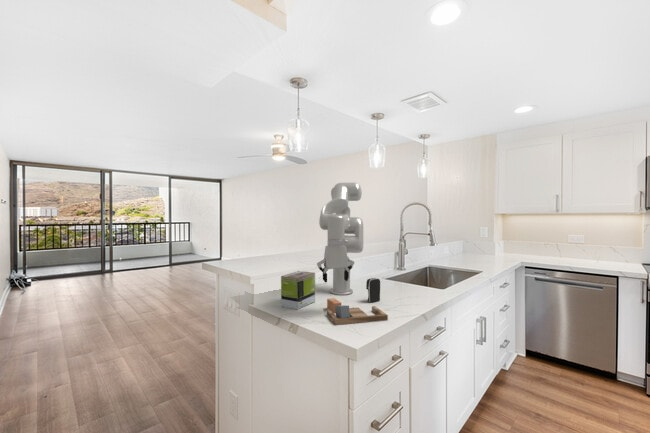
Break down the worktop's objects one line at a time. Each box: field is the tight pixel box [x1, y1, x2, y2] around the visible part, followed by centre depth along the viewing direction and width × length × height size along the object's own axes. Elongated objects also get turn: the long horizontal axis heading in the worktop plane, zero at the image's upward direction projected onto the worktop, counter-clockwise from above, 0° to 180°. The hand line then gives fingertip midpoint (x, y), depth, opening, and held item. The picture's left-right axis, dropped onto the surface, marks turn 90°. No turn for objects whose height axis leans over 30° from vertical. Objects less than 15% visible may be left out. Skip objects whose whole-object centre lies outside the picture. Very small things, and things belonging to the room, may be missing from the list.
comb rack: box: [326, 305, 389, 326], centre depth 126 cm, size 12×22×2 cm, turn 105°
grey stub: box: [335, 304, 350, 318], centre depth 123 cm, size 8×4×4 cm, turn 15°
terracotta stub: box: [326, 297, 342, 314], centre depth 135 cm, size 8×4×4 cm, turn 21°
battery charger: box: [365, 277, 381, 303], centre depth 150 cm, size 7×4×11 cm, turn 125°
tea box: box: [280, 270, 316, 310], centre depth 144 cm, size 15×10×15 cm
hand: (335, 280), depth 134 cm, fingers open, 9 cm apart
